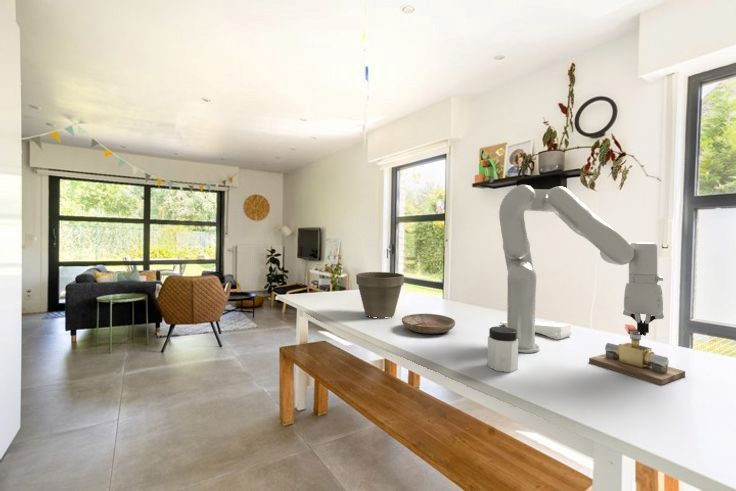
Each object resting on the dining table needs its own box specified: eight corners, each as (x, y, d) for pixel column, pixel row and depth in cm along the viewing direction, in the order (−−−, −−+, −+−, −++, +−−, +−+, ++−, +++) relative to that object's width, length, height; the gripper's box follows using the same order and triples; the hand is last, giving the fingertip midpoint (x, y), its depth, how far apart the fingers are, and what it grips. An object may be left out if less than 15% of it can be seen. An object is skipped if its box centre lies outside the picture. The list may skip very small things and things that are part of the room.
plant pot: (401, 322, 171) (402, 277, 170) (351, 320, 175) (351, 276, 174) (405, 312, 195) (405, 272, 195) (361, 310, 199) (361, 271, 199)
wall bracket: (502, 338, 166) (562, 345, 143) (498, 323, 165) (558, 328, 142) (514, 330, 171) (574, 335, 148) (510, 315, 171) (570, 319, 148)
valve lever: (641, 341, 110) (641, 333, 110) (630, 339, 111) (630, 332, 111) (634, 329, 123) (634, 323, 123) (624, 328, 124) (624, 322, 124)
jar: (487, 370, 110) (488, 331, 110) (487, 361, 118) (487, 325, 118) (519, 373, 107) (519, 334, 107) (516, 364, 115) (517, 327, 115)
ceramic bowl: (391, 332, 154) (391, 320, 154) (416, 321, 174) (416, 311, 174) (442, 341, 141) (442, 328, 141) (463, 328, 160) (463, 317, 160)
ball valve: (661, 374, 104) (661, 347, 103) (603, 357, 118) (603, 334, 117) (669, 371, 106) (670, 345, 106) (612, 355, 120) (612, 332, 120)
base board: (661, 385, 100) (661, 379, 100) (589, 362, 117) (589, 358, 117) (685, 376, 106) (685, 371, 106) (612, 356, 124) (613, 351, 124)
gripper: (672, 279, 116) (672, 336, 116) (617, 277, 126) (617, 329, 126) (672, 282, 110) (672, 341, 111) (613, 279, 120) (614, 333, 121)
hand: (642, 334), depth 118 cm, fingers closed
